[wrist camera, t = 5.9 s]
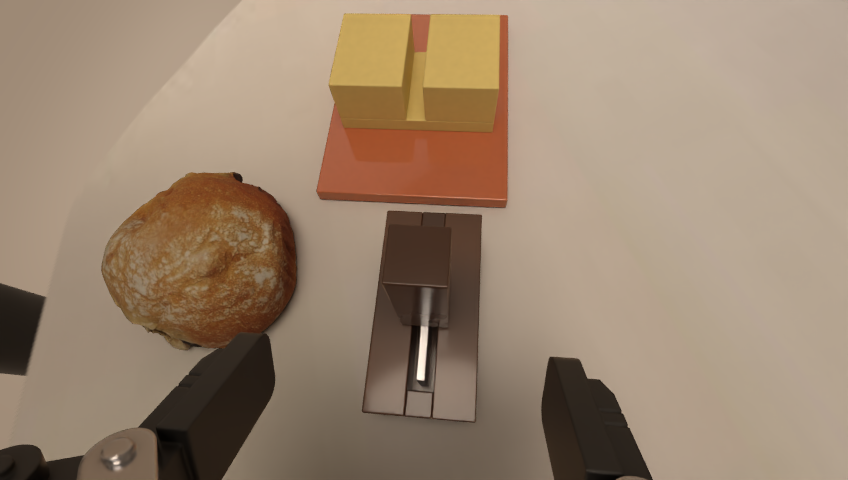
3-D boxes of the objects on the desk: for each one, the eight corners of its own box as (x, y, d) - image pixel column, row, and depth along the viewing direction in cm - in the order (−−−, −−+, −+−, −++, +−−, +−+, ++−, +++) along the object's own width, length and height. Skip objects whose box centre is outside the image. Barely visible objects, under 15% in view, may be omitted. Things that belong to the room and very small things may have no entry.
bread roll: (167, 325, 28) (52, 365, 20) (171, 173, 28) (54, 152, 20) (310, 336, 27) (249, 382, 19) (316, 178, 27) (256, 160, 19)
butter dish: (505, 208, 26) (507, 200, 25) (320, 199, 27) (315, 191, 26) (506, 26, 33) (508, 14, 32) (355, 24, 33) (352, 13, 33)
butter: (492, 132, 27) (499, 88, 24) (343, 128, 28) (327, 84, 25) (493, 64, 30) (500, 14, 26) (356, 61, 31) (343, 12, 27)
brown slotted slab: (470, 422, 22) (475, 422, 18) (375, 413, 22) (361, 412, 18) (477, 243, 25) (481, 214, 22) (395, 239, 26) (387, 209, 22)
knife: (445, 387, 21) (443, 365, 12) (403, 384, 22) (371, 360, 13) (452, 259, 24) (455, 166, 15) (415, 257, 24) (395, 164, 15)
